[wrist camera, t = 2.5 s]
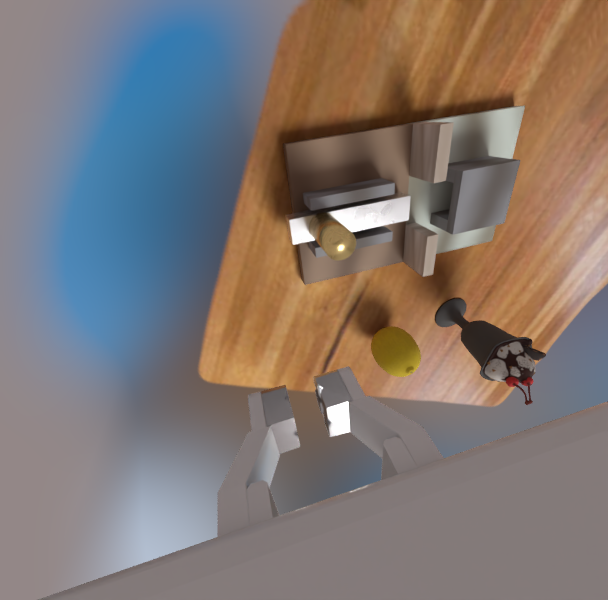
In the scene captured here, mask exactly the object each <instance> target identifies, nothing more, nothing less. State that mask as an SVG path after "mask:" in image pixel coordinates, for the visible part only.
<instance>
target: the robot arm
mask: <svg viewBox="0 0 608 600" xmlns="http://www.w3.org/2000/svg"><path fill="white" fill-rule="evenodd" d="M314 384H315V387H316V390H315V392H316V397H317V401H318V405H319V408H320V411H321V413H322V414H323V415H324V421H325V425H326V427H327V430H328V433H329V436H330V437H333V436H336V435H340V434H343V433H347V432H350V431H351V433H352V434H353V435H354V436H356V437H357V438H358V439H359V440H360V441H362V442H363V443H364V444H365V445H366V446H368V447H369V448H370V449H371V450H373V451H374V452H375V453H376V454H377V455H379V456H380V457H381V458H382V459H383V460H382V476H381V481H378V482H375V483H372V484H369V485H366V486H363V487H360V488H357V489H355V490H352V491H349V492H346V493H343V494H340V495H337V496H334V497H332V498H329V499H326V500H323V501H320V502H317V503H315V504H311V505H309V506H306V507H303V508H300V509H297V510H294V511H291V512H289V513H286V514H283V515H279V512H278V510H277V507H276V504H275V502H274V499H273V496H272V494H271V491H270V484H271V481H272V478H273V475H274V472H275V468H276V465H277V462H278V459H279V454H281V453H284V452H287V451H289V450H292V449H295V448H298V447H300V443H299V438H298V434H297V430H296V425H295V421H294V417H293V413H292V409H291V405H290V401H289V397H288V393H287V389H286V385H283V386H279V387H275V388H271V389H267V390H264V391H260V392H257V393H253V394H249V395H248V403H249V411H250V420H251V428H252V431H251V432H248V433H247V436H246V438H245V439H244V441H243V444H242V445H241V448H240V449H239V451H238V454H237V456H236V458H235V460H234V462H233V464H232V466H231V468H230V470H229V472H228V474H227V476H226V478H225V480H224V482H223V484H222V486H221V488H220V490H219V492H218V537H217V538H214V539H211V540H208V541H205V542H202V543H200V544H197V545H194V546H191V547H188V548H185V549H182V550H180V551H176V552H173V553H171V554H168V555H165V556H162V557H159V558H157V559H153V560H151V561H148V562H145V563H142V564H139V565H136V566H133V567H130V568H128V569H125V570H122V571H119V572H116V573H113V574H110V575H107V576H104V577H102V578H99V579H96V580H93V581H90V582H87V583H84V584H81V585H79V586H76V587H73V588H70V589H67V590H64V591H62V592H59V593H56V594H53V595H50V596H47V597H44V598H41V599H38V600H608V402H605V403H602V404H599V405H597V406H593V407H591V408H588V409H585V410H582V411H579V412H576V413H574V414H570V415H568V416H565V417H562V418H559V419H556V420H553V421H550V422H547V423H545V424H542V425H539V426H536V427H533V428H530V429H528V430H524V431H522V432H519V433H516V434H513V435H510V436H507V437H505V438H502V439H499V440H496V441H493V442H490V443H487V444H484V445H481V446H479V447H476V448H473V449H470V450H467V451H464V452H462V453H459V454H456V455H453V456H450V457H447V458H443V456H442V455H441V453H440V452H439V450H438V449H437V448H436V446H435V445H434V443H433V442H432V440H431V439H430V437H429V436H428V434H427V433H426V431H425V430H424V428H423V427H422V426H420V425H419V424H417V423H415V422H413V421H412V420H410V419H408V418H406V417H405V416H403V415H401V414H400V413H398V412H396V411H395V410H393V409H391V408H389V407H387V406H386V405H384V404H382V403H381V402H379V401H377V400H376V399H374V398H372V397H370V396H367V397H366V396H365V394H364V392H363V390H362V389H361V387H360V385H359V383H358V381H357V379H356V378H355V376H354V374H353V372H352V370H351V368H350V367H345V368H342V369H338V370H334V371H331V372H327V373H324V374H321V375H317V376H314Z"/></svg>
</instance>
